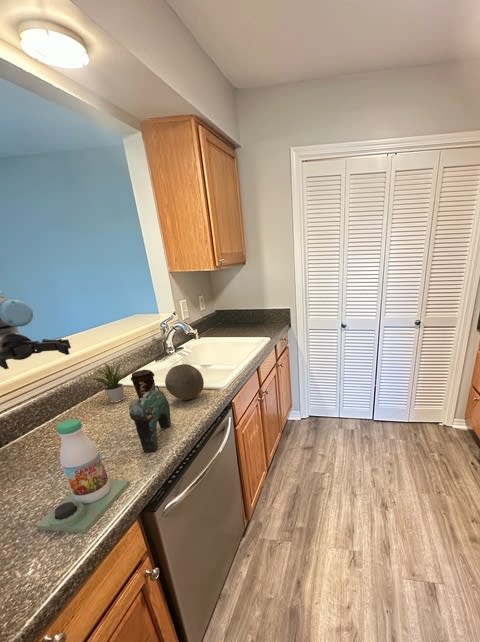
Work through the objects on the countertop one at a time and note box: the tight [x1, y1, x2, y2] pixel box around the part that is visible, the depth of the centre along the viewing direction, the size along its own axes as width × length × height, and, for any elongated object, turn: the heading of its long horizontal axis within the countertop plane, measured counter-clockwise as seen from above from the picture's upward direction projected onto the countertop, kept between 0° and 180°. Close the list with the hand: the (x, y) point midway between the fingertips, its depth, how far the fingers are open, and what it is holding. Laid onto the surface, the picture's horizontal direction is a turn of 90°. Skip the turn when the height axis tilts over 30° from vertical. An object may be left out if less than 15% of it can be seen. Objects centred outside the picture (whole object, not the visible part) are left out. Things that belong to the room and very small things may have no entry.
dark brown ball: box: [164, 363, 205, 401], centre depth 130 cm, size 14×14×15 cm
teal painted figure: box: [128, 384, 172, 454], centre depth 102 cm, size 20×6×20 cm, turn 3°
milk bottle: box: [55, 418, 110, 504], centre depth 76 cm, size 8×8×20 cm
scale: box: [35, 478, 131, 534], centre depth 77 cm, size 17×12×3 cm
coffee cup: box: [130, 369, 157, 399], centre depth 130 cm, size 9×8×13 cm
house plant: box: [87, 360, 126, 402], centre depth 134 cm, size 14×14×16 cm
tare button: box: [54, 502, 76, 520], centre depth 72 cm, size 4×4×2 cm
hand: (37, 356), depth 85 cm, fingers open, 13 cm apart
